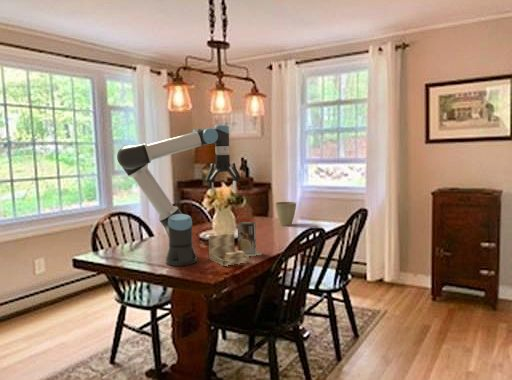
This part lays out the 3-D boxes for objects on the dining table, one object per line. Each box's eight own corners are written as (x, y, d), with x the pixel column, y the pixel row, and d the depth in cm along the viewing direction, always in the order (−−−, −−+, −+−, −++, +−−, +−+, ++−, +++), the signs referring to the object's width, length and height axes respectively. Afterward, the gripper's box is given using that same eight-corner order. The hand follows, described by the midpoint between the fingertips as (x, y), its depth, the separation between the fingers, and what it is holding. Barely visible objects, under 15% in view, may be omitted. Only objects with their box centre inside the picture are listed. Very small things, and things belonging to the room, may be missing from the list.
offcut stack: (225, 266, 212) (225, 255, 212) (222, 264, 215) (222, 253, 215) (245, 262, 218) (245, 251, 217) (242, 261, 221) (241, 250, 220)
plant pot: (300, 224, 317) (299, 202, 315) (290, 227, 304) (290, 204, 303) (281, 222, 325) (281, 201, 323) (271, 225, 312) (271, 203, 310)
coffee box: (256, 251, 238) (256, 221, 236) (254, 254, 231) (254, 224, 230) (240, 250, 239) (239, 221, 237) (237, 253, 233) (237, 223, 231)
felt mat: (241, 257, 227) (241, 256, 227) (230, 252, 238) (230, 251, 238) (261, 254, 232) (261, 253, 232) (249, 249, 244) (249, 248, 244)
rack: (223, 267, 211) (222, 242, 209) (209, 259, 225) (208, 236, 224) (249, 262, 217) (248, 238, 216) (233, 255, 232) (233, 232, 231)
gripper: (203, 155, 226) (204, 196, 228) (246, 153, 238) (247, 192, 241) (198, 154, 233) (199, 194, 235) (239, 153, 245) (240, 191, 247)
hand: (223, 193), depth 238 cm, fingers open, 13 cm apart
